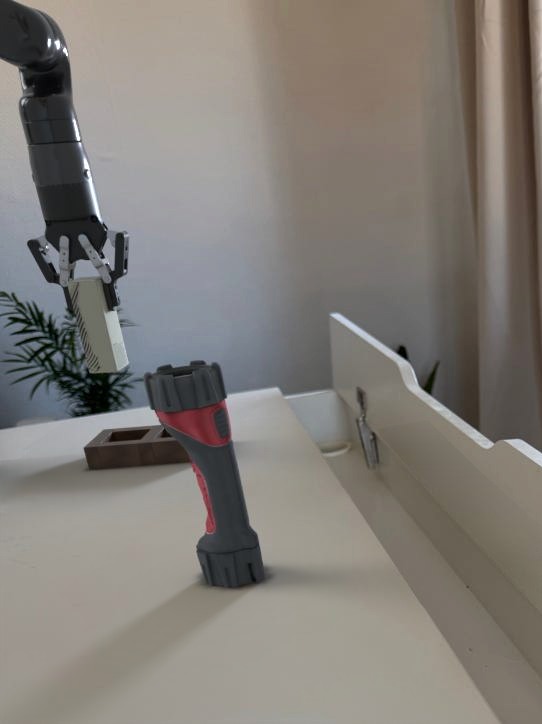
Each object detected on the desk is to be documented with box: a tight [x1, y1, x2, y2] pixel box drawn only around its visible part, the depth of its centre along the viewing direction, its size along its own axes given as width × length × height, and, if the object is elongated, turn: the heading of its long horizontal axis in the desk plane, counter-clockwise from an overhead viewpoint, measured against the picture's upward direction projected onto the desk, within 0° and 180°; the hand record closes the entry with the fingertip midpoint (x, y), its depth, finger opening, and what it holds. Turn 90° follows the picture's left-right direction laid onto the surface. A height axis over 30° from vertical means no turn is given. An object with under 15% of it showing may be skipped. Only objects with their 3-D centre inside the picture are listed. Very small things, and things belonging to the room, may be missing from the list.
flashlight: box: [142, 359, 267, 589], centre depth 101 cm, size 8×8×23 cm
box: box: [67, 274, 130, 374], centre depth 141 cm, size 5×4×13 cm
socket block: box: [82, 424, 193, 471], centre depth 149 cm, size 18×10×4 cm, turn 92°
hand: (95, 311), depth 140 cm, fingers closed on box, 4 cm apart
